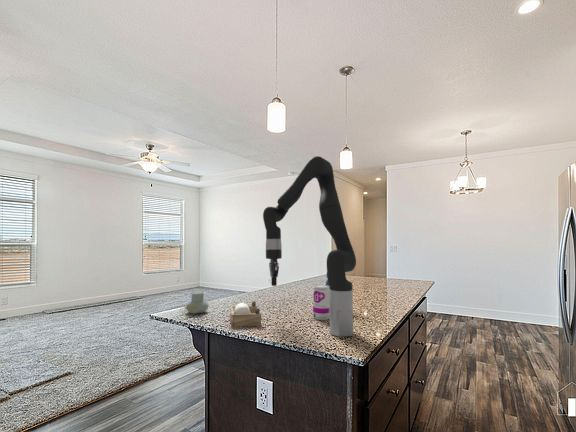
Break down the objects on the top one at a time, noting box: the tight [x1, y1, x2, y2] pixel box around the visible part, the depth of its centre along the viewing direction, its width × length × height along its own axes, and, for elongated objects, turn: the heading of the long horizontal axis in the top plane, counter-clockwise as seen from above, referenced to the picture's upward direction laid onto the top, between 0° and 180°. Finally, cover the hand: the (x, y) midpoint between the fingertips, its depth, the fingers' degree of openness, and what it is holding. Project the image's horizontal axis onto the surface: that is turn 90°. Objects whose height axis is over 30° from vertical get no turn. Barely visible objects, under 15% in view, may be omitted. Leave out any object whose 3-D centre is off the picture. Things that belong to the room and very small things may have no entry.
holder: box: [229, 301, 262, 328], centre depth 144 cm, size 18×13×7 cm
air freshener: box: [185, 291, 209, 315], centre depth 161 cm, size 11×8×10 cm
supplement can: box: [312, 284, 330, 321], centre depth 150 cm, size 8×8×15 cm
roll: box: [234, 302, 251, 314], centre depth 143 cm, size 12×7×7 cm
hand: (274, 285), depth 147 cm, fingers closed
